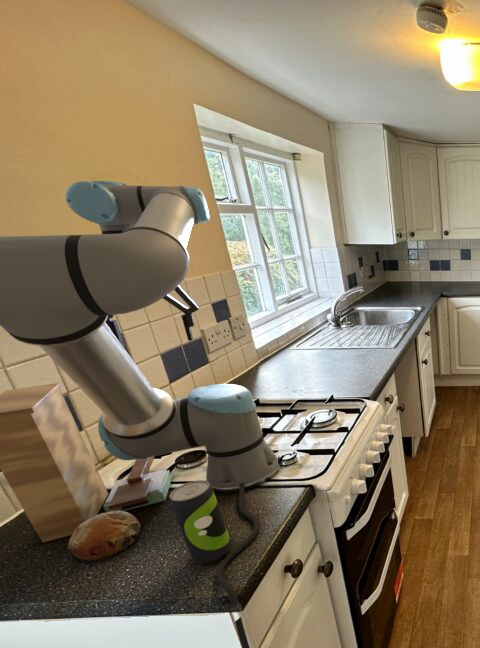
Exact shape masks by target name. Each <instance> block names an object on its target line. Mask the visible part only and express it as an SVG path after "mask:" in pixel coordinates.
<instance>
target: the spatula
mask: <svg viewBox="0 0 480 648" xmlns="http://www.w3.org/2000/svg"><path fill="white" fill-rule="evenodd" d="M155 457H156V456H153V457H150V458H146V459H135V461H134V464H133V466H132V468H131V470H130V473H129V475H128V476H127V478H128V479H127V482H128V484H126V485H121V486H118V488H117V490H116V492H115V494H114V496H113V498H112V500H111V502H110V504H109V506H108V507H109V509H110V510H112V509H116V508H120V507H124V506H128V505H132V504H136V503H139V502H143V501H146V500H147V498H148V495H149V492H150V489H151V487H152V484H153V479H152V478H151V479H147V480H145V479H146V477H147V474H148V473H150V469H151V467H152V464H153V461H154V459H155Z"/></svg>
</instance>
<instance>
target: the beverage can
mask: <svg viewBox="0 0 480 648" xmlns="http://www.w3.org/2000/svg"><path fill="white" fill-rule="evenodd" d="M169 504H170V507H171V510H172V512H173V514H174V516H175V519H176V522H177V524H178V527H179V529H180V532H181V535H182V537H183V539H184V542H185V544H186V547H187V549H188V552H189V555H190V557H191V560H192V561H193V563H195V564H199V565H209V564H210V565H211V564H213V563H216V562H218V561H220V560H222V559H223V558H224V557H226V555H228V554H229V552H230V550H231V548H232V541H231V538H230V534H229V532H228V529H227V526H226V523H225V520H224V518H223V514H222V512H221V508H220V505H219V503H218V500H217V497H216V494H215V491H213V488H212V487H211V486H210V485H209V483H208V482H207V480H202V479H201V480H193V481H189V482H186V483H184V484H181V485H179V486H177V487H176V488H174V489H173V490H172V491H171V492H170V494H169Z"/></svg>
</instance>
